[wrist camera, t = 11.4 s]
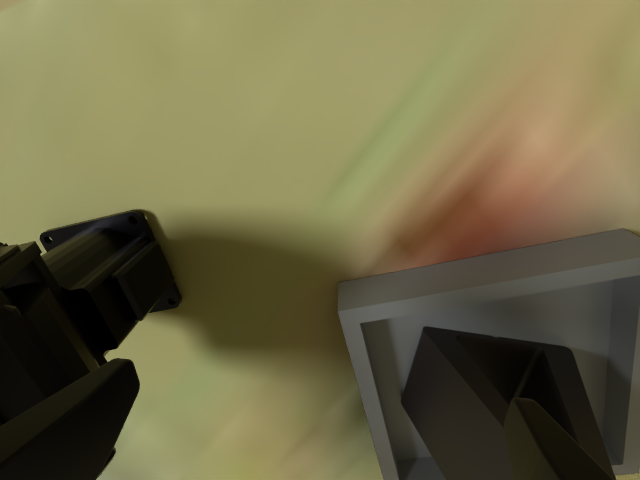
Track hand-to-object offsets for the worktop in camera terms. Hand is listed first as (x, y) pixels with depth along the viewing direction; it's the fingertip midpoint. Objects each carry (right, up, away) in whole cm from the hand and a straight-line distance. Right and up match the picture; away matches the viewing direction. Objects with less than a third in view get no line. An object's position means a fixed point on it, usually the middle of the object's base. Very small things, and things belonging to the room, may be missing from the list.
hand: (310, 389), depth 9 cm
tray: (+11, -5, +16) cm, 20 cm away
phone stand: (+10, -5, +15) cm, 19 cm away
